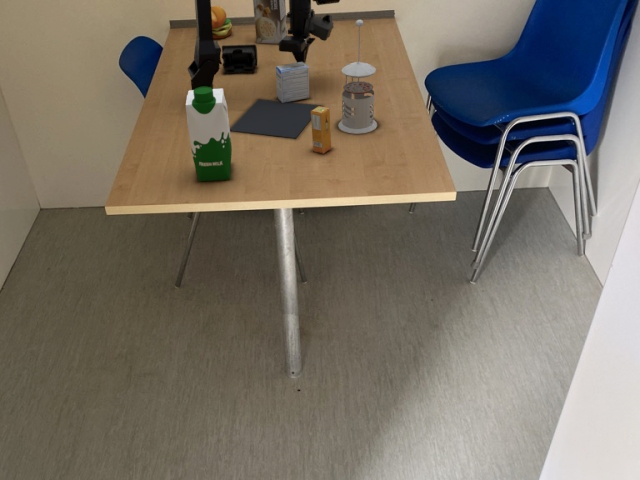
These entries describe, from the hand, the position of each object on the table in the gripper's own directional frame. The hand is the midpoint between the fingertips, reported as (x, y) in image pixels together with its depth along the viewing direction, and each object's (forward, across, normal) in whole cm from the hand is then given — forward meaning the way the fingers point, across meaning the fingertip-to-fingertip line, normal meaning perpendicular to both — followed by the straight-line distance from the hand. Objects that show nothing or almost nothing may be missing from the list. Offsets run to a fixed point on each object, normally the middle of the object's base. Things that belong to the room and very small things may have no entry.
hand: (302, 67), depth 186 cm
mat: (+6, -21, 0) cm, 22 cm away
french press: (+6, -19, -21) cm, 29 cm away
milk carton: (+6, -52, +3) cm, 52 cm away
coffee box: (+6, +35, +23) cm, 42 cm away
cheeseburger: (+6, +36, +43) cm, 56 cm away
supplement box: (+6, -35, -17) cm, 39 cm away
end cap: (+6, +9, +23) cm, 25 cm away
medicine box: (+6, -8, 0) cm, 10 cm away
